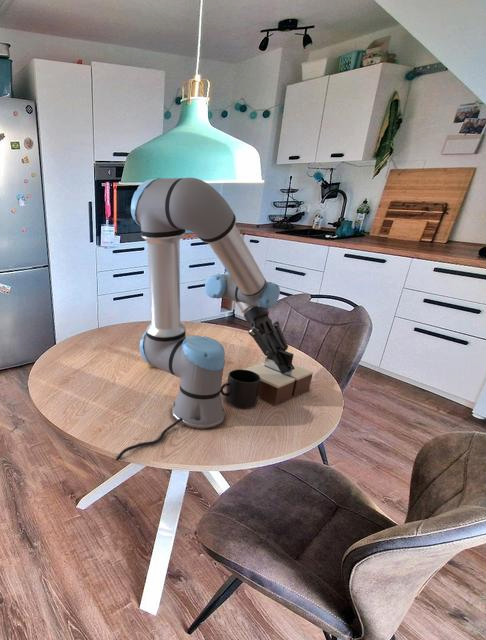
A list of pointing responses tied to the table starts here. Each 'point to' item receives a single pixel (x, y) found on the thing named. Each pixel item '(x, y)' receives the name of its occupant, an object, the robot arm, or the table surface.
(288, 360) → the dough scraper
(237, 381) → the mug
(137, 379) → the table surface
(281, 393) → the split beige slab
